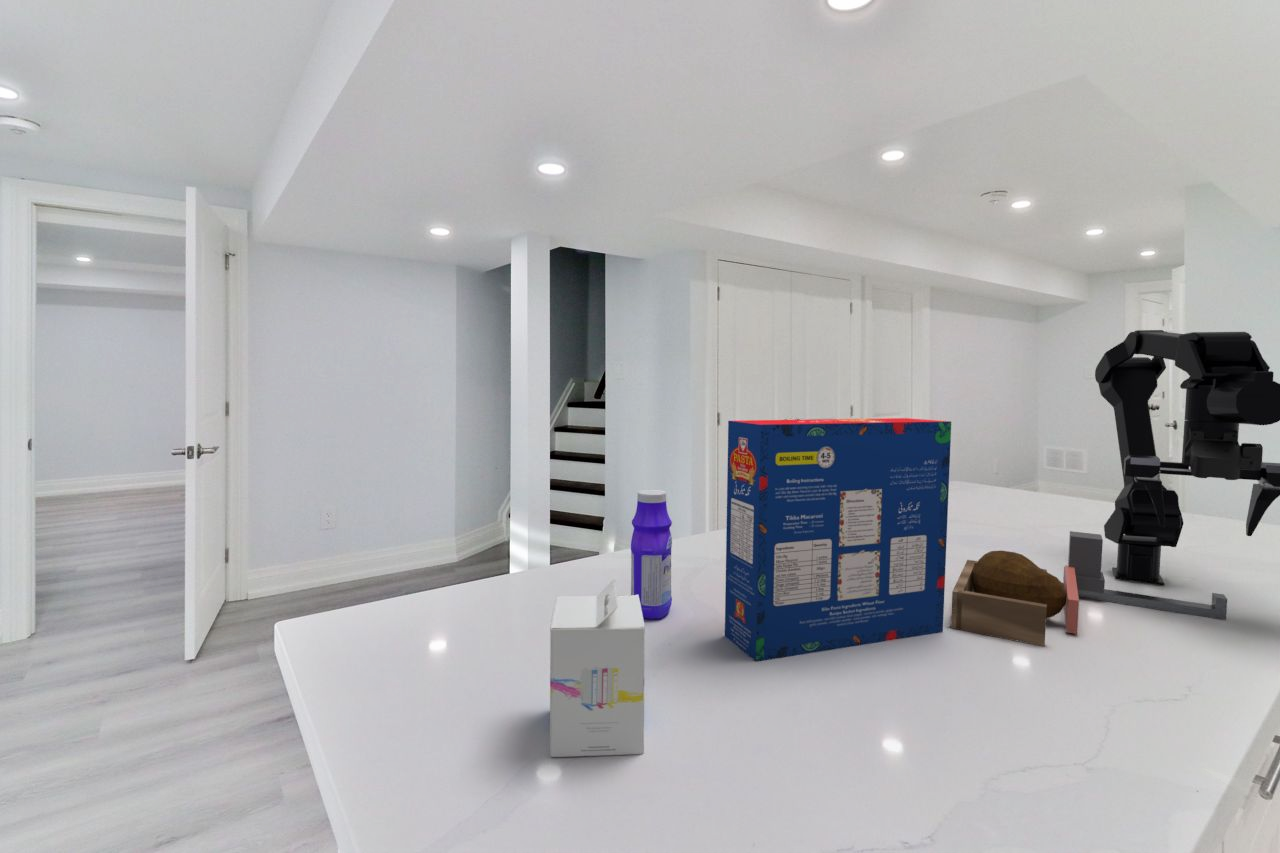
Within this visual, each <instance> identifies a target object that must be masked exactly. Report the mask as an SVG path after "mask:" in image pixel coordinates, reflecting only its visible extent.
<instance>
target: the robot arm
mask: <svg viewBox="0 0 1280 853" xmlns="http://www.w3.org/2000/svg"><path fill="white" fill-rule="evenodd" d="M1252 338H1253V337H1252V335H1251V334H1250V333H1248V332H1246V331H1204V332H1202V331H1199V332H1198V331H1197V332H1196V331H1194V332H1187V333H1177V332H1171V331H1170V332H1168V331H1166V330H1163V329H1138V330H1134V331H1130V332H1129V333H1128V335H1127V336H1126V338H1125V339H1124V341H1122V342H1120V343H1118V344H1117V345H1115V346H1113V347H1112V348H1110V349H1109V350H1107V351H1106V352H1104V354H1103V356H1102V357H1101V359H1100V360H1099V362H1098V363H1097V365H1096V367H1095V371H1094V378H1095V382H1096V383H1097V384H1098V388H1099V392H1100V396H1102V397H1103V399H1104V400H1105V401H1107V403H1108V404H1110V405H1111V407H1113V410H1114V419H1115V426H1116V427H1115V428H1116V434H1117V442H1118V449H1119V455H1120V457H1119V458H1120V463H1121V464H1120V465H1121V470H1122V471H1121V472H1122V476H1123V477H1122V478H1123V488H1122V489H1121V491H1120V493H1119V494H1118V496H1117V498H1116V499H1115V501H1114V510H1113V512H1112V513H1111V515H1110V516H1109V518H1108V519H1107V520H1106V522H1105V523H1104V525H1103V530H1104V538H1105V539H1107V540H1109V541H1111V542H1113V543H1115V544H1117V557H1116V558H1117V559H1116V567H1111V571H1112V574H1113V577H1114V579H1116V580H1122V581H1128V582H1136V583H1142V584H1150V585H1156V586H1165V585H1166V584H1165V581H1164V579H1163V577H1162V575H1161V574H1160V572H1161V570H1160V569H1161V557H1162V556H1161V555H1162V547H1171V548H1177V546H1178V542H1179V540H1180V536H1181V532H1182V530H1183V528H1184V527H1183V526H1184V518H1183V515H1182V512H1181V508H1180V505H1179V504H1180V503H1179V495H1178V493H1177V492H1176V490H1173V489H1172V490H1171V489H1167V488H1166V486H1164V484H1163V480H1161V474H1162V475H1173V476H1174V475H1177V476H1187V477H1188V476H1189V477H1194V478H1199V479H1207V478H1217V479H1225V480H1226V481H1237V480H1250V481H1257V482H1258V483H1253V484H1252V488H1251V495H1250V499H1249V504H1248V511H1247V516H1246V523H1245V535H1246V536H1247V537H1252V536H1253V534H1254V532H1255V531H1256V529H1257V526H1258V525H1259V524H1260V521H1261V520H1262V517H1263V516H1264V514H1265V513H1266V511H1267V510H1268V508H1269V507H1270V506H1271V505H1272V503H1273V502H1274V501H1275V500H1276V499H1277V498H1278V497H1280V462H1265V461H1263V451H1264V450H1263V446H1262V443H1249V442H1242V443H1241V444H1240V443H1239V430H1240V424H1242V425H1254V426H1268V425H1273V424H1275V423H1278V422H1280V383H1279V382H1277V381H1274V371H1272V370H1270V368H1271V367H1270V365H1269V364H1268V363H1267V362H1266V360H1265V359H1264V358H1263V355H1262V354H1261V352H1260V350H1259V347H1258V345H1257V343H1256V341H1254V340H1252ZM1135 355H1144V357H1141V356H1140V357H1136V356H1135ZM1134 356H1135V357H1134ZM1145 356H1146V357H1145ZM1147 356H1150V357H1152V358H1150V357H1147ZM1165 360H1171V361H1174V366H1175V367H1176V368H1179V369H1180V370H1181V371H1183V372H1185V373H1186V374H1188V378H1186V379H1184V380H1183V381H1182V382H1181V383H1180V385H1179V387H1180V388H1181V389H1182V390H1183V389H1184V390H1186V391H1185V405H1184V406H1185V408H1184V409H1185V410H1184V423H1183V425H1184V426H1183V435H1182V436H1183V437H1182V438H1183V440H1182V455H1181V462H1177V461H1175V462H1173V461H1172V462H1171V461H1161V458H1160V457H1159V456H1157V453H1156V445H1155V439H1154V432H1153V427H1152V426H1153V424H1152V419H1151V412H1150V406H1149V400H1150V399H1151V397H1152V396H1153V394H1154V392H1155V391H1156V389H1157V388H1158V379H1159V378H1160V377H1161V375H1162V374H1163V373H1164V371H1165V370H1166V369H1167V366H1166V363H1165Z"/></svg>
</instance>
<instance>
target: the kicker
mask: <svg viewBox="0 0 1280 853" xmlns="http://www.w3.org/2000/svg"><path fill="white" fill-rule="evenodd" d="M1103 540H1104V539H1103V537H1102V534H1098V533H1089V532H1080V531H1072V530H1070V531H1069V540H1068V541H1069V543H1068V544H1069V545H1068V557H1067V558H1068V559H1067V565H1064V566H1063V583H1064V589H1065V592H1066V594H1067V597H1066V604H1065V606H1064V607H1063V609H1064V619H1065V620H1064V622H1065V633H1070V634H1074V635H1077V634H1078V626H1079V625H1078V624H1079V611H1080V610H1079V609H1080V608H1079V606H1080V604H1079V603H1080V599H1079V598H1080V597H1078V590H1085V591H1091V592H1098V593H1104V589H1105V584H1106V580H1105V576H1104V572H1103V571H1102V559H1103V558H1102V557H1103V545H1104V544H1103V542H1104V541H1103ZM1077 589H1078V590H1077Z"/></svg>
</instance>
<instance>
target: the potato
mask: <svg viewBox="0 0 1280 853" xmlns="http://www.w3.org/2000/svg"><path fill="white" fill-rule="evenodd" d="M977 561H978V562H977V564H976V565H975V567H974V569H973V574H972V583H973V588H974V591H975V593H981V594H987V595H993V596H999V597H1005V598H1011V599H1017V600H1023V601H1029V602H1035V603H1041V604H1047V611H1046V619H1049V618H1053V617H1055V616H1056V615H1058V614H1060V612H1062V610H1063V609H1064V606H1065V604H1066V597H1067V594H1066V592H1065V589H1064V587H1063V584H1062V583H1063V582H1061V580H1060V579H1059V578H1058V577H1056V576H1055V575H1053V574H1051V573H1049V572H1048V571H1047V572H1045V571H1044V570H1042V569H1043V568H1040V567H1039V566H1038V565H1037V564H1036V563H1035V562H1034V561H1032V560H1031V559H1030V558H1028V557H1027V556H1025V555H1024V554H1021V553H1018V552H1016V551H1008V550H1007V551H1006V550H1002V549H1001V550H992V551H991V550H989V552H987V553H985V554H983V555H982V556H981V557H980V558H979V559H978V560H977Z"/></svg>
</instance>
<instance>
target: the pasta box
mask: <svg viewBox="0 0 1280 853" xmlns="http://www.w3.org/2000/svg"><path fill="white" fill-rule="evenodd" d="M727 422H728V424H727V425H728V426H727V428H728V430H727V474H726V475H727V476H726V478H727V479H726V480H727V482H726V483H727V484H726V537H725V538H726V539H725V540H726V541H725V547H726V549H725V596H724V597H725V600H724V601H725V602H724V612H725V613H724V637H726V638H727V639H728V640H729V641H730V642H731V643H732V644H734V645H735V646H736V647H737V648H739V649H740V650H741V651H742V652H744V653H745V654H746V655H747V656H748V657H749V658H750V659H751V660H753V661H755V663H757V662H763V661H764V662H765V661H770V660H775V659H782V658H787V657H794V656H796V657H797V656H800V655H808V654H813V653H814V654H815V653H821V652H826V651H832V650H840V649H845V648H850V647H851V648H852V647H859V646H866V645H870V644H876V643H884V642H889V641H894V640H901V639H902V640H903V639H907V638H914V637H922V636H926V635H933V634H940V633H944V616H945V615H944V613H945V612H944V610H945V590H946V589H945V587H946V561H947V542H948V541H947V539H948V537H947V536H948V511H949V510H948V509H949V493H950V492H949V490H950V489H949V488H950V485H949V484H950V466H951V465H950V463H951V438H952V437H951V436H952V421H950V420H949V421H948V420H937V419H936V420H935V419H922V418H921V419H920V418H909V417H900V418H899V417H898V418H897V417H895V418H894V417H893V418H892V417H891V418H889V417H888V418H836V419H834V418H833V419H832V418H829V419H828V418H825V419H822V418H820V419H817V418H816V419H813V418H812V419H760V420H758V419H756V420H755V419H754V420H753V419H752V420H751V419H750V420H744V419H743V420H727Z"/></svg>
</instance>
